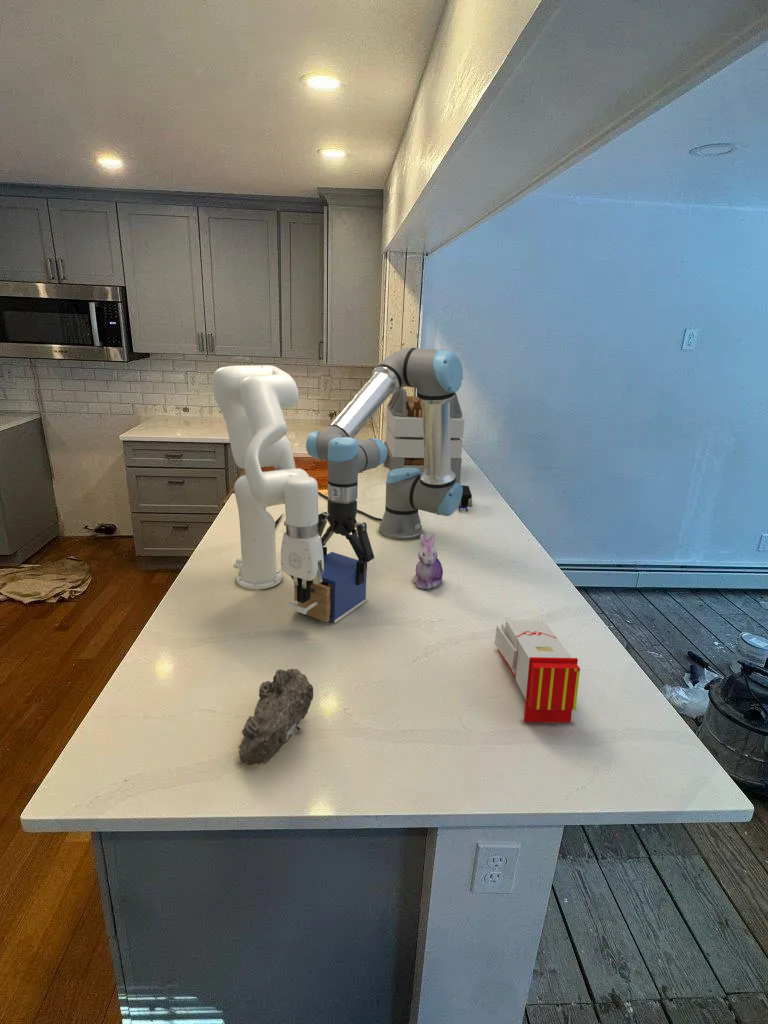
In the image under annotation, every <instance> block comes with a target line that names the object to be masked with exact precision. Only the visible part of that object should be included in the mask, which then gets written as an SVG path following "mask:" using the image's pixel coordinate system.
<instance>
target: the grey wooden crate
mask: <svg viewBox="0 0 768 1024" xmlns="http://www.w3.org/2000/svg"><path fill="white" fill-rule="evenodd" d="M407 394H408V393H407V390H406V389H404V387H402V388H400V389H399V390H398V391H397V392H396V393H394V394H392V395H391V398H390V400H389V402H388V404H387V405H386V413H385V414H386V415H385V423H386V428H385V438H384V441H383V443H384V444H385V446H386V448H387V458H386V460H385V462H384V463H383V464H382V465H383V466H384V467H388V468H389V471H391V470H394V469H398V468H405V466H406V467H407V466H411V467H412V466H413V467H415V466H416V467H417V466H418V467H424V445H423V416H422V401H421V400H420V399H418V398H417V396H415V395H414V396H413V395H412V396H411V395H407ZM464 429H465V419H464V418H463V411H462V408H461V405H460V402H459V398H458V395H457V392H455V396H454V397H453V398H452V399H451V400H450V433H451V471H453V472H454V473H455V475H456V483H457V482H458V483H461V472H462V461H463V460H462V453H463V442H464V441H463V440H462V439H463V438H464V431H465V430H464Z"/></svg>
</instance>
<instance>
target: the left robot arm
mask: <svg viewBox="0 0 768 1024" xmlns="http://www.w3.org/2000/svg"><path fill="white" fill-rule="evenodd" d="M211 384H212V393H213V397H214V400H215V402H216V404H217V407H218V408H219V411H220V412H221V414H222V416H223V419H224V421H225V425H226V430H227V435H228V439H229V444H230V449H231V454H232V457H233V458H232V459H233V461H234V463H235V465H236V466H237V468H239V469H244V472H245V474H243V475H240V476H239V477H238V478H237V479H236V481H235V482H234V487H233V488H234V497H235V500H236V504H237V511H238V519H239V534H240V535H239V536H240V555H241V556H240V557H241V558H240V557H237V558H236V560H235V562H234V563H233V568H234V569H237V570H239V573H238V574H237V575H236V583H237V584H238V586H240V587H242V588H244V589H248V590H266V589H270V588H273V587H275V586H277V585H279V584H280V583H281V582H282V580H283V576H282V572H283V573H284V574H286V575H288V576H289V577H290V578H291V579H292V581H293V586H294V585H295V586H297V602H301V603H304V602H306V601H308V600H309V599H310V598H311V589H310V586H311V585H312V584H319V583H321V582H322V576H321V575H322V574H323V572H324V557H323V548H322V542H321V538H322V536H321V537H320V536H319V531H318V515H319V494H318V492H319V484H318V481H317V479H316V478H314V477H312V476H310V475H309V474H308V472H307V471H306V470H304V469H303V468H299V467H298V468H297V466H296V462H295V457H294V452H293V449H292V444H291V442H290V440H289V438H288V437H287V435H286V434H287V433H288V425H287V422H286V420H285V417H284V415H283V410H282V409H286V408H287V409H288V408H292V407H295V406H296V405H297V403H298V401H299V388H298V385H297V383H296V381H295V380H294V378H293V377H292V376H291V374H289V373H287V372H286V371H284V370H282V369H280V368H279V367H277V366H275V365H271V364H262V365H261V364H260V365H257V364H255V365H249V364H248V365H247V364H246V365H245V364H244V365H243V364H241V365H227V366H222V367H219V368H218V369H216V370H215V371H214V373H213V375H212V380H211ZM268 467H269V468H270V467H273V468H274V470H269V471H267V470H264V471H263V470H262V468H268ZM280 505H284V511H285V512H284V514H285V520H284V521H283V526H285V532H284V533H283V535H282V540H281V547H280V569H281V571H282V572H281V571H279V570H278V569H277V549H276V548H277V547H276V546H277V545H276V544H277V543H276V528H275V524H276V523H275V522H276V521H275V519H274V517H273V516H272V515H271V514H270V512H269V511H267V510H266V509H267V508H269V507H272V506H273V507H274V506H280Z"/></svg>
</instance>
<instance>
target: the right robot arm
mask: <svg viewBox="0 0 768 1024" xmlns="http://www.w3.org/2000/svg"><path fill="white" fill-rule="evenodd" d="M463 377H464V368H463V364H462V360H461V358H460V357H459V356H458V355H457V353H455V352H453V351H450V350H445V349H437V348H435V349H434V348H422V347H421V348H420V347H413V346H412V347H405V348H401V349H398V350H396V351H394V352H393V353H391V354H389V355H388V356H386V357H385V358H383V359H382V360H381V361H380V362H379V364H377V365H376V366H375V368H374V369H373V370H372V371H371V376H370V378H369V379H368V380H367V382H366V383H365V384H364V385H363V386H362V387H361V388H360V389H359V391H358V392H357V393H356V394H355V395H354V396H353V397H352V398H351V399H350V400H349V402H348V403H347V404H346V405H345V406H344V407H343V409H342V410H341V411H340V412H339V413H338V414H337V416H336V417H335V418H334V419H333V420H332V421H331V422H330V424H329V425H328V426H327V427H326V428H325V429H324V430H323V431H321V430H314V431H312V432H310V433H309V434H308V436H307V439H306V441H305V450H306V452H307V454H308V455H309V456H310V457H311V458H313V459H317V460H320V461H324V462H325V461H326V462H327V495H325V494H323V493H321V492H320V491H318V496H321V497H322V498H324V499H326V500H327V507H326V508H327V510H326V511H323V512H321V513H318V531H319V536H320V537H321V542H322V548H323V556H325V555H327V554H328V547H327V546H326V544H327V543H328V541H329V540H330V539H331V538H332V537H333V535H335V534H336V535H340V536H343V537H345V539H346V540H348V541H349V544H350V546H351V547H352V550H353V552H354V553H355V555H356V557H357V560H359V561H357V565H356V585H360V584H362V583H363V582H364V573H365V572H366V571H367V572H368V563H369V562H371V561H373V560H374V559H375V555H374V552H373V551H374V550H373V548H372V544H371V540H370V537H369V534H368V531H367V530H368V525H367V524H368V523H367V522H365V521H364V522H362V523H361V522H359V521H357V518H356V517H357V513H358V514H361V515H363V516H365V517H367V518H369V519H371V520H374V521H378V522H379V526H378V533H379V534H380V535H381V536H382V537H385V538H387V539H389V540H395V541H410V540H415V539H418V538H420V536H421V534H423V525H422V524H421V518H420V515H419V510H420V511H423V512H426V513H431V514H435V515H436V516H443V517H450V516H452V515H453V514H454V513H455V512H456V511H457V509H458V506H459V503H460V501H461V498H462V493H463V487H462V483H461V482H459V483H458V482H457V483H456V475H455V473H454V472H453V471H451V433H450V400H451V399H452V398H453V397H454V396H455V393H457V392H458V391H459V390H460V389H461V386H462V384H463V382H462V381H463ZM407 387H408V388H413V389H416V397H417V398H418V399H420V400H421V401H422V416H423V445H424V466H423V471H422V470H421V468H419V467H404V468H398V469H394V470H391V471H390V470H388V472H387V475H386V480H385V504H384V505H385V507H384V508H385V509H384V513H383V515H382V518H380V517H375V516H373V515H370V514H369V513H367V512H364V511H363V510H360V509H358V500H357V499H358V495H359V494H358V491H359V489H358V488H359V484H358V483H359V479H358V478H359V473H362V472H365V471H368V470H371V469H376V468H377V467H379V466H381V465H384V464H383V463H384V462H385V460H386V458H387V448H386V446H385V444H384V441H382V440H381V439H380V438H376V437H375V438H373V437H372V438H371V437H370V438H367V439H361V438H356V436H357V435H358V434H359V432H360V431H361V430H362V429H363V428H364V427H365V425H366V424H367V423H368V422H369V420H371V418H372V417H373V416H374V415H375V414H376V412H377V411H378V410H379V409H380V407H381V406H382V405H383V404H384V402H385V401H386V400H387V399H388V398H389V397H390V396H391V395H393V394H394V393H396V392H397V391H398V390H399V389H400V388H407ZM327 523H328V524H329V526H328V528H327V529H326V531H325V533H324V530H325V528H326V525H327Z"/></svg>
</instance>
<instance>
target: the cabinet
mask: <svg viewBox="0 0 768 1024" xmlns="http://www.w3.org/2000/svg"><path fill="white" fill-rule="evenodd" d="M323 557H324V572H323V574H322V575H321V576H322V581H323V582H326V583H329V584H332V614H331V615H330V621H329V622H332V623H334V624H335V623H337V622H338V621H340V620H341V619H343V618H344V617H345V616H347V615H349V614H350V613H351V612H353V611H354V610H356V609H357V608H359V607H360V606H361V605H362V604H364V603H366V602H367V573H368V570H367V571H366V572H365V573H364V582H363V583H362V584H360V585H356V565H357V561H359V559H356V558H354V557H349V556H346V555H344V554H340V553H337V552H334V551H330V552H329V553H327V555H325V556H323Z"/></svg>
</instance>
